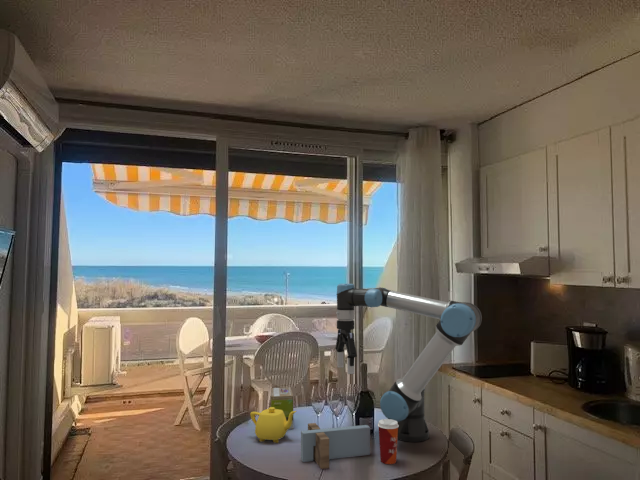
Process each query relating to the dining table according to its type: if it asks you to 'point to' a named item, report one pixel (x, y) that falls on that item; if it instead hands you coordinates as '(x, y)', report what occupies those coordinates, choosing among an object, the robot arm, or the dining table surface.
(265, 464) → the dining table surface
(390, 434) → the paper cup
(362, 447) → the slate board
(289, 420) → the teapot
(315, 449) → the notched walnut block
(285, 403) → the tea box
